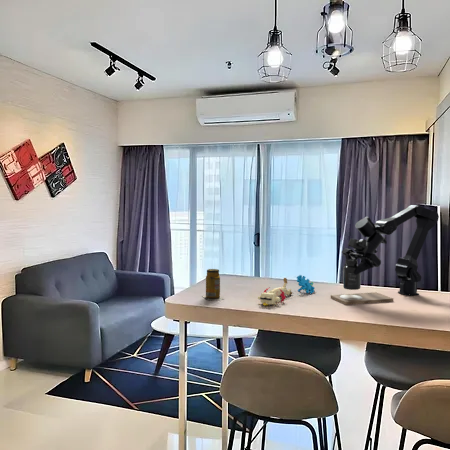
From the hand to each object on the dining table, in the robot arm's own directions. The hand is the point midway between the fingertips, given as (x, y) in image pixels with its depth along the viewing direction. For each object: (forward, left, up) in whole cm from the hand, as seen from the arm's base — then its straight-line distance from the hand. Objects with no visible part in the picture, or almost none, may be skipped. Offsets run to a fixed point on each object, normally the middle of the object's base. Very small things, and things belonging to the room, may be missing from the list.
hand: (349, 272), depth 180 cm
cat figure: (+29, -9, -12) cm, 32 cm away
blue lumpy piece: (+10, -19, -12) cm, 24 cm away
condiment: (+53, -19, -12) cm, 57 cm away
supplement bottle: (-1, 0, -7) cm, 7 cm away
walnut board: (-6, 0, -12) cm, 13 cm away
